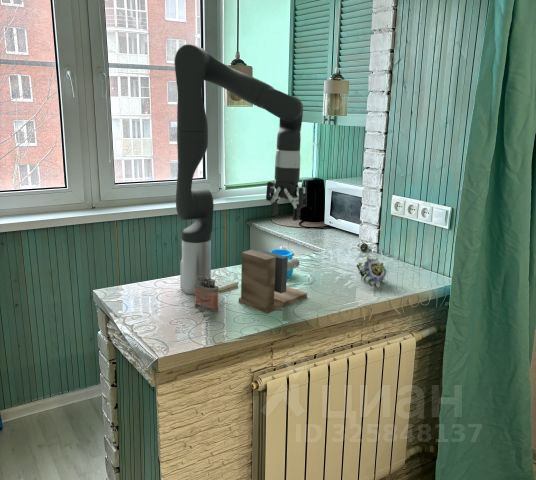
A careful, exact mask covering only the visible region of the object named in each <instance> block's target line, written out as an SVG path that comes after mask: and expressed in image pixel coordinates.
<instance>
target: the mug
mask: <svg viewBox="0 0 536 480" xmlns="http://www.w3.org/2000/svg"><path fill="white" fill-rule="evenodd" d="M269 252H271V253H275V254H278V255H282V256H285V257H288V260H291V259H294V258H293V254H294V253H293V251H291V250H289V249H284V248H283V249H282V248H281V249H280V248H278V249H272V250H270V251H269ZM293 273H294V269H291V270H288V271H287V278H289V277H292V275H293Z"/></svg>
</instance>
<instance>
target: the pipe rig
mask: <svg viewBox="0 0 536 480" xmlns="http://www.w3.org/2000/svg"><path fill="white" fill-rule="evenodd" d="M275 263H276V257H274V256H271V255H267V254H264V253H261V252H257V250H254V249H248V250H246V251H242V252H241V273H240V274H241V279H240V281H241V282H240V283H241V285H240V297H238V303H239V304H241V305H244V306H246V307H249V308H252V309H254V310H257V311H259V312H261V313H262V312H263V313H264V314H267V315H268V314H271V313H272V312H275V311H277V310H280V309H282V308H285V307H286V306H290V305H292V304H295V303H297V302H299V301H302V300H304V299H306V298H307V297H308V292H305V291H303V290H299V289H297V288H293V287H291V286H288V285H286V292H284V293H278V292H275V291H274V288H275ZM299 266H300V261H299V259H298V258H296V257H295V258H293V259H291V260H288V262H287V271H288V270H291V269H293V270H294V269H296V268H298V267H299Z"/></svg>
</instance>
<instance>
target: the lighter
mask: <svg viewBox="0 0 536 480" xmlns="http://www.w3.org/2000/svg"><path fill="white" fill-rule="evenodd" d="M197 280H198V281H201V282H197V283H195V295H194V296H195V299H194V300H195V301H194V303H195V304H194V308H195V309H197V310H200V311H202V312H206V313H211V314H215V313H216V314H217V313H218V312H219V310H220V309H219V289H220V287H219V286H217V285H216V279H212V278H210V277H207V278H205V277H203V276H198V277H197Z"/></svg>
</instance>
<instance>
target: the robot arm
mask: <svg viewBox="0 0 536 480" xmlns="http://www.w3.org/2000/svg"><path fill="white" fill-rule="evenodd" d="M173 63H174V70H175V81H176V90H177V91H176V92H177V103H176V106H177V108H176V110H177V111H176V112H177V113H176V121H177V123H176V124H177V126H176V143H177V144H176V145H177V146H176V147H177V176H176V177H177V178H176V191H175V192H176V193H175V209H176V213H177V216H178V217H179V218H180V219H181V220H183V221H188V220H194V222H193V223H192V224H191V225H189V226H187V227H185V228H184V229H183V230H182V231H181V260H180V261H179V265H180V266H179V272H180V273H179V276H180V285H179V287H180V289H181V290H182V292H183V293H185V294H187V295H194V296H195V283H197V282H201V281H198V280H197V277H198V276H203V277H205V278H207V277H210V278H211V277H212V270H211V269H212V267H211V265H212V264H211V263H212V262H211V260H212V256H211V255H212V251H211V250H212V243H211V242H212V233H213V225H214V224H213V221H214V210H215V209H214V207H215V206H214V205H215V204H214V198H213V197H214V196H213V194H212V192H211V191H210V190H209V189H207V188H195V189H192V186H193V179H194V175H195V172H196V170H197V169H198V167H199V165H200V163H201V161H202V160H203V158H204V157H205V155H206V152H207V150H208V146H209V127H208V126H209V125H208V119H207V113H206V109H205V105H204V100H203V81H206V82H209V83H212V84H214V85H217V86H219V87H221V88H223V89H225V90H226V91H228V92H230V93H231V94H233V95H234V96H236V97H238V98H240V99H241V100H243V101H245V102H247V103H249V104H252V105H254V106H256V107H257V108H260V109H263V110H264V111H267V112H268V113H269V114H272V115H273V116H275V117H277V118H279V124H278V125H279V126H278V127H279V129H278V132H277V137H276V151H275V156H274V157H275V158H274V159H275V160H274V180H272V181H268V182H267V183H266V184H267V185H266V193H265V194H266V195H265V199H266V201H268V202H269V203H270V213H271V215H272V216H274V217H275V216H277V215H279V203H278V202H279V201H280V200H281V199H285V200H289V202H290V203H291V205H292V206H293V209H292V221H295V222H297V221H299V220H300V218H301V209H302V208H305V207H307V206H308V203H307V202H308V200H307V199H308V188H307V187H306V186H303V187H301V186H299V181H300V172H301V140H302V139H301V136H302V135H301V131H302V130H301V129H302V122H303V116H304V115H303V114H304V106H303V103H302V101H301V100H300V99H299V97H296V96H294V95H290V94H288V93H284V92H282V91H280V90H278V89H277V88H274V87H273V86H272V85H270V84H268V83H266V82H265V81H262V80H260V79H258V78H257V77H254V76H251V75H249V74H246V73H245V72H242V71H239V70H237V69H234V68H233V67H231V66H228V65H227V64H225V63H223V62H222V61H220V60H219V59H217V58H215V56H213V55H211V54H210V53H209V52H207V51H206V50H205V49H204V48H203V47H201V46H198V45H195V44H192V43H191V44H189V43H187V44H184V45H181V46H180V47H179V48H178V49H177V51H176V53H175V56H174V60H173ZM211 279H212V278H211Z"/></svg>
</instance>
